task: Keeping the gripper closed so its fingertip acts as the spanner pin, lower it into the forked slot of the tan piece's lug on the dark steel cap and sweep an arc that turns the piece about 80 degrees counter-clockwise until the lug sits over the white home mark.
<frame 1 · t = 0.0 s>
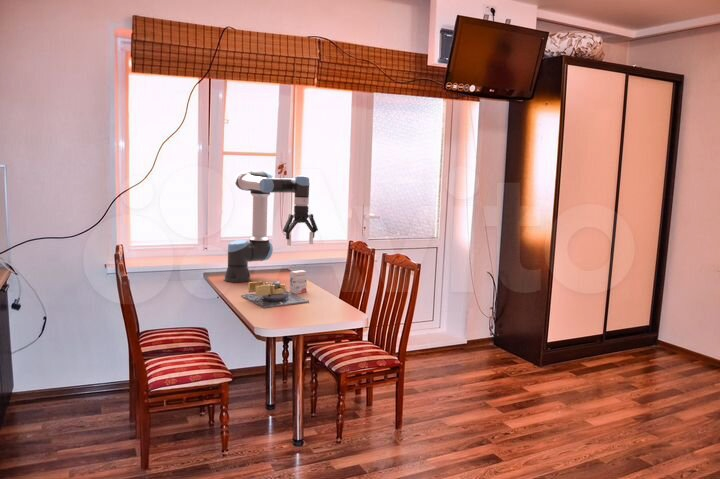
hand: (300, 244, 313), 28 cm above the table, fingers open, 13 cm apart
tan piece: (268, 287, 304), point 7 cm above the table, hinge at 0.0°
ink box: (297, 292, 325), on the table
cap plate: (274, 299, 307), on the table
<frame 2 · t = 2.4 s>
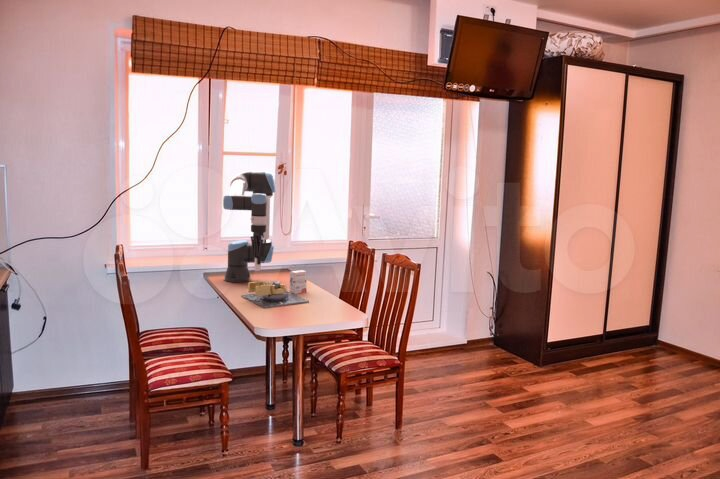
hand: (257, 270, 298), 17 cm above the table, fingers closed
nothing on the table moved.
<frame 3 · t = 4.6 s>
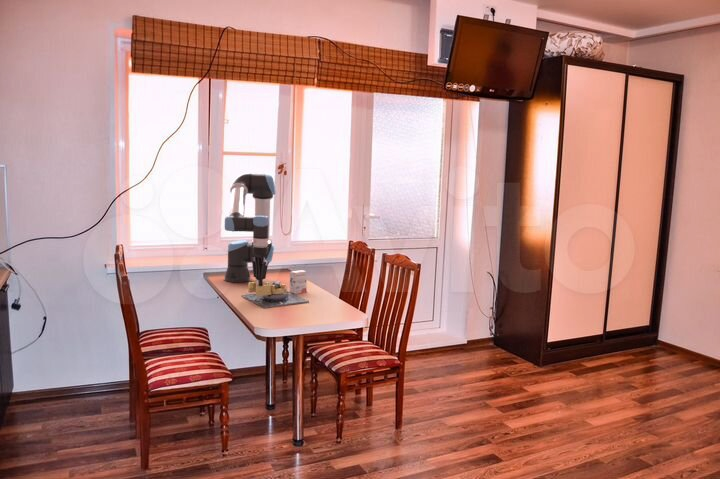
hand: (259, 291, 298), 6 cm above the table, fingers closed
tan piece: (268, 287, 303), point 7 cm above the table, hinge at 1.1°, touching gripper
everything else where it was.
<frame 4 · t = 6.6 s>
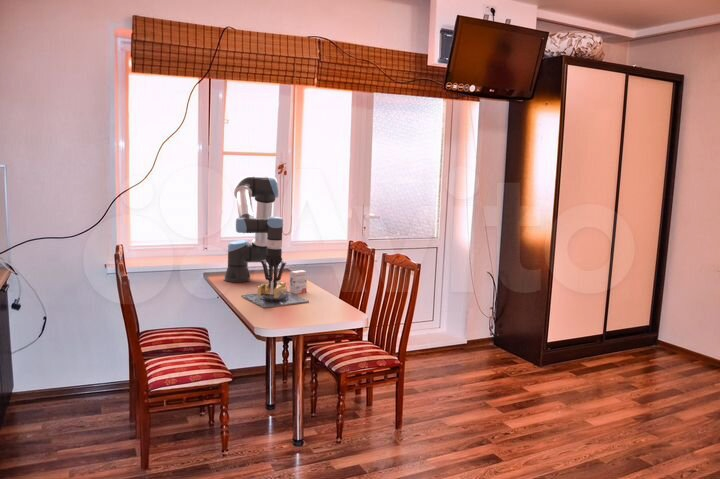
hand: (272, 293, 296), 6 cm above the table, fingers closed
tan piece: (273, 288, 302), point 7 cm above the table, hinge at 44.7°, touching gripper
everything else where it was.
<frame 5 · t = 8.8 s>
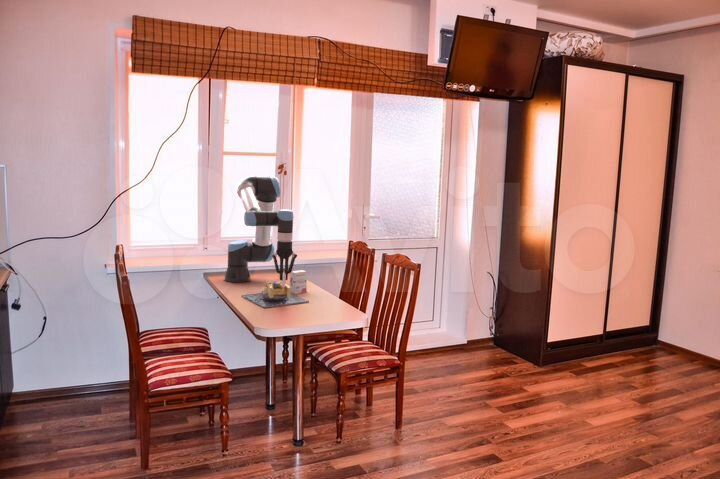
hand: (283, 286, 297), 9 cm above the table, fingers closed
tan piece: (276, 288, 302), point 7 cm above the table, hinge at 73.6°
everything else where it was.
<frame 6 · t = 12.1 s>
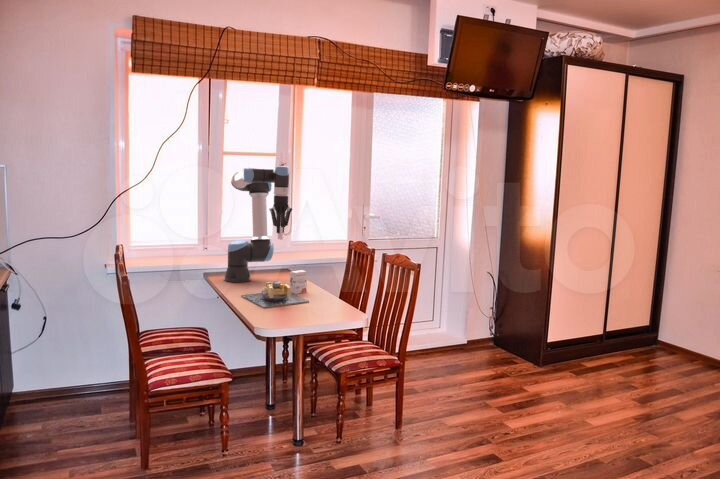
hand: (280, 239, 314), 30 cm above the table, fingers closed
nothing on the table moved.
at the end: tan piece at +74° (first picture: +0°); tan piece touching nothing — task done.
